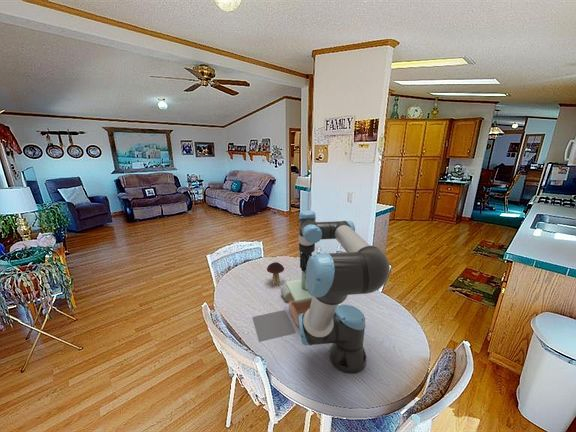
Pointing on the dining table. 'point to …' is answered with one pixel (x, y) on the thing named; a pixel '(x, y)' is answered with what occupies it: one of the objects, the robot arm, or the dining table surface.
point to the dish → (298, 309)
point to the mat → (273, 325)
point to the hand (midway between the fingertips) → (306, 285)
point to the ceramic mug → (286, 293)
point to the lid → (299, 289)
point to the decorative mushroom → (275, 271)
